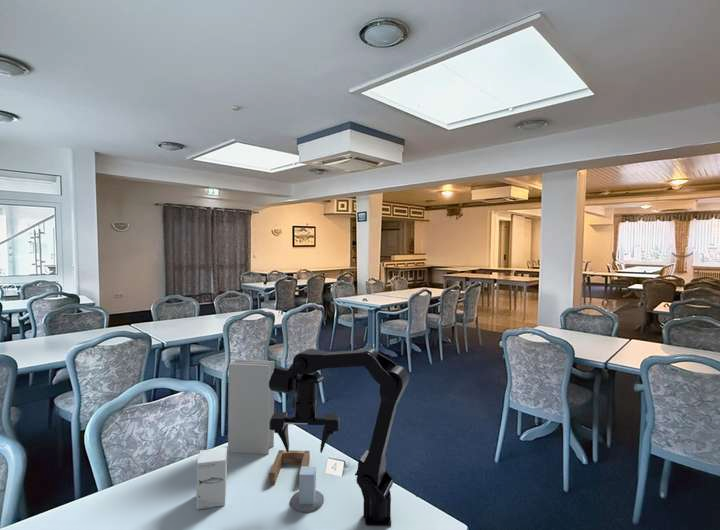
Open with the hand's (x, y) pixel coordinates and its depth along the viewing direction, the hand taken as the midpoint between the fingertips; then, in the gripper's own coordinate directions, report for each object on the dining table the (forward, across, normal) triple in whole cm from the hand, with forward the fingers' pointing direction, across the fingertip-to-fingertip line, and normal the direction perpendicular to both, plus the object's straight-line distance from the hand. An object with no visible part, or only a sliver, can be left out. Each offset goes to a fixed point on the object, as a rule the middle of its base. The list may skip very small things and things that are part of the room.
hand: (304, 451), depth 108 cm
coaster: (+13, -1, +2) cm, 13 cm away
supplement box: (+13, +25, +2) cm, 28 cm away
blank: (+12, -1, +2) cm, 12 cm away
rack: (+13, +6, -12) cm, 19 cm away
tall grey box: (+13, +21, -26) cm, 36 cm away
